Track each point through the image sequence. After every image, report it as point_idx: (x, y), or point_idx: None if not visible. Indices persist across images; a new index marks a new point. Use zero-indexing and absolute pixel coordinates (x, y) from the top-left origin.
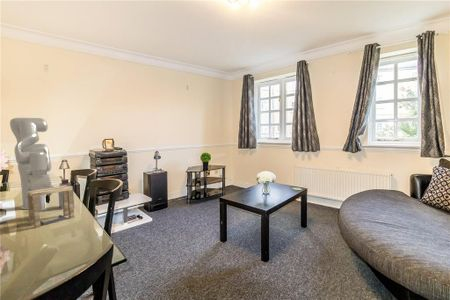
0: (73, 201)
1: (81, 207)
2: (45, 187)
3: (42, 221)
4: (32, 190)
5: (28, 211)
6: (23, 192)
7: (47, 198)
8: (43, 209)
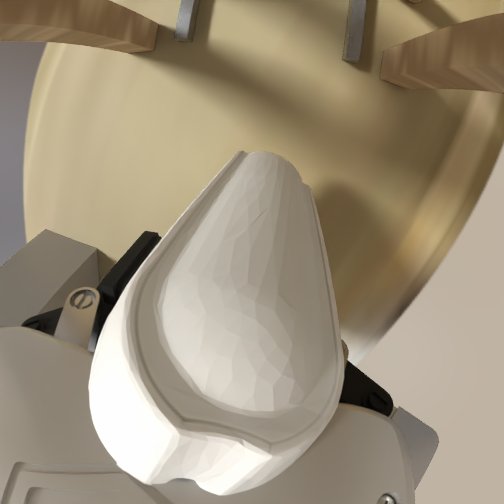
0: (24, 248)
1: (26, 164)
2: (26, 453)
3: (352, 7)
4: (402, 495)
5: (474, 89)
6: None
7: (133, 272)
8: (259, 151)
